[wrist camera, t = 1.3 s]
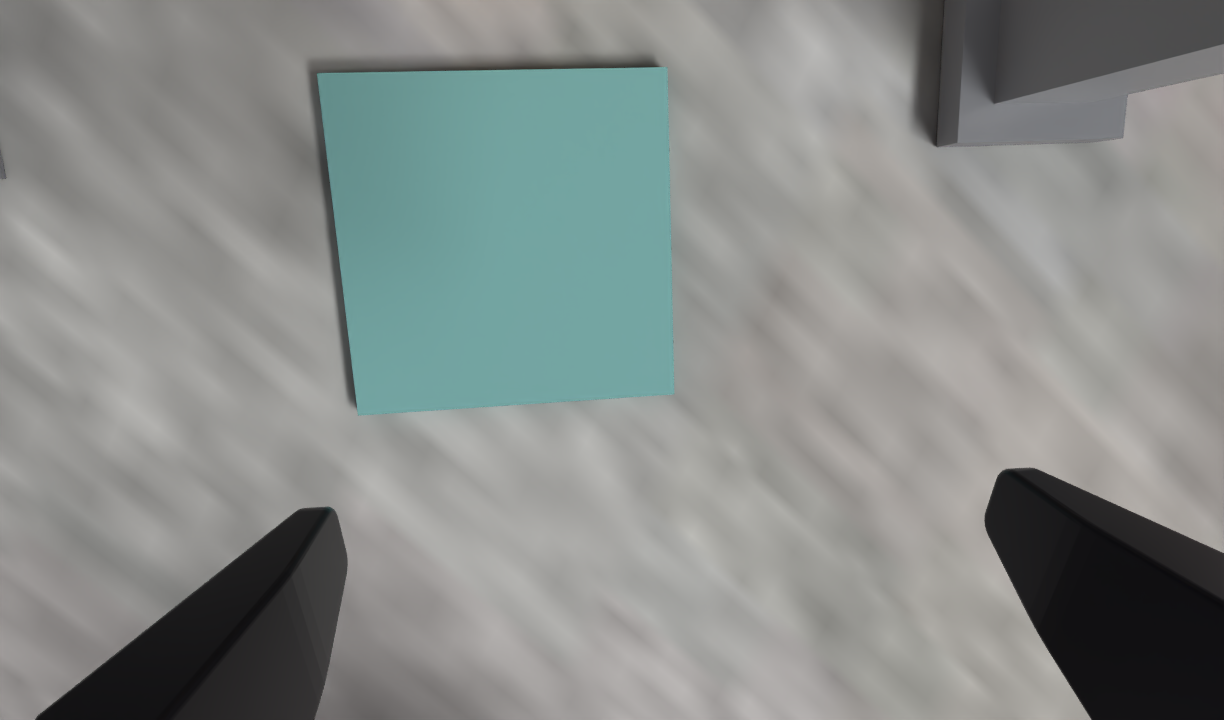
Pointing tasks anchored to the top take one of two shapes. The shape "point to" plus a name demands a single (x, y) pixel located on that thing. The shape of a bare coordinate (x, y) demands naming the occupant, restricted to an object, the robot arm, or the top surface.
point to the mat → (502, 234)
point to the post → (2, 169)
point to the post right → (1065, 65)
